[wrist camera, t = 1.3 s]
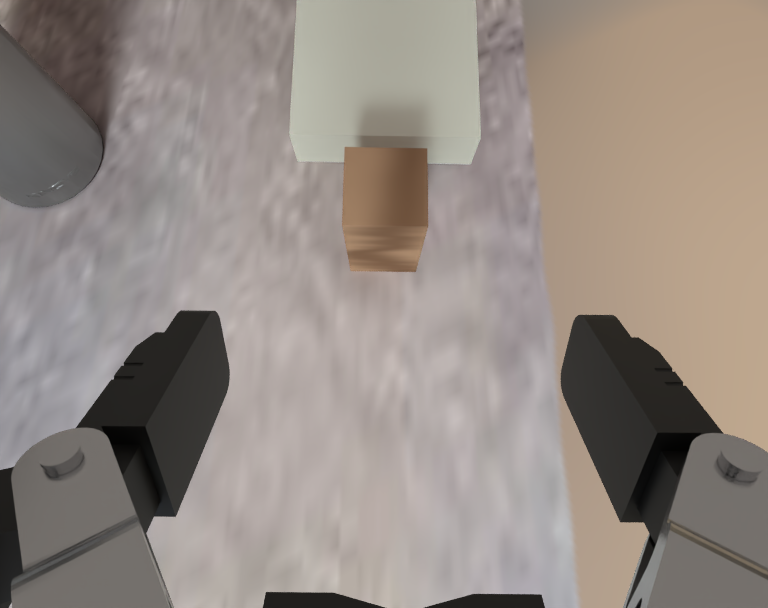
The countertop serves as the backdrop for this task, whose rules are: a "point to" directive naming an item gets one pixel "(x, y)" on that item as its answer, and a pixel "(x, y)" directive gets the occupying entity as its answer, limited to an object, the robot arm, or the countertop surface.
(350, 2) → the cream base
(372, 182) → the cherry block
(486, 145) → the countertop surface
